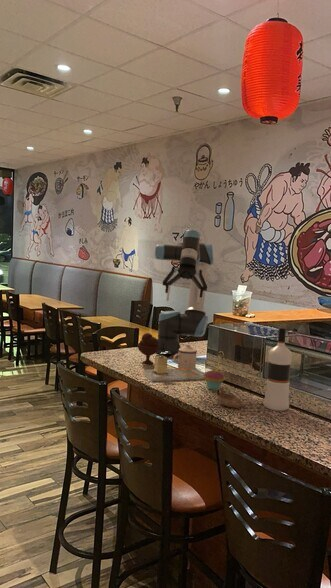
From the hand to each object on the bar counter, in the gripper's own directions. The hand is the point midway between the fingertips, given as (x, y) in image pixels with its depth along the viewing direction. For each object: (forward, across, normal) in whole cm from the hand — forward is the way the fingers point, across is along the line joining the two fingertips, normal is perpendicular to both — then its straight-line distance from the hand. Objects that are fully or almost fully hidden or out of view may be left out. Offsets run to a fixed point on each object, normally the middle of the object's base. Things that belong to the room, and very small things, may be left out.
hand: (182, 301), depth 207 cm
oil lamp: (+46, +22, -13) cm, 53 cm away
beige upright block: (+31, -6, +14) cm, 35 cm away
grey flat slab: (+30, 0, +16) cm, 34 cm away
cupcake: (+36, +18, +5) cm, 40 cm away
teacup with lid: (+21, +4, +31) cm, 38 cm away
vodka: (+45, +40, -12) cm, 61 cm away
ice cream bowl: (+20, -14, +35) cm, 43 cm away
